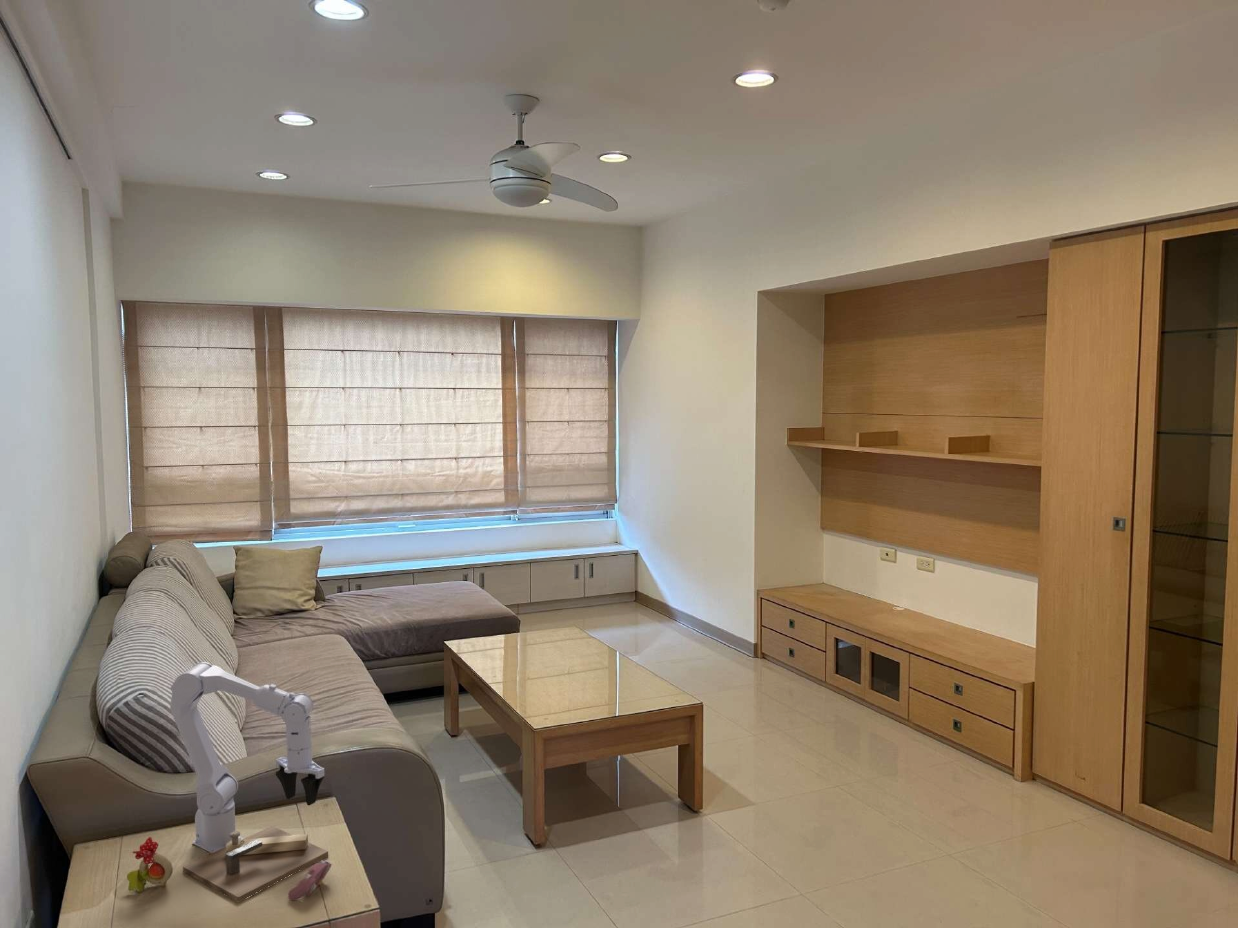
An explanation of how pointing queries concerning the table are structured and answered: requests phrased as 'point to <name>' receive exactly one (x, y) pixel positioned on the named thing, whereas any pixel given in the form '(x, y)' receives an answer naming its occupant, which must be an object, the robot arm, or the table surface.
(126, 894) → the table surface
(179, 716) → the robot arm
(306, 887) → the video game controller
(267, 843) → the wooden link
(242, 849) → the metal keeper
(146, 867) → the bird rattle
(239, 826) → the table surface
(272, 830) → the walnut board
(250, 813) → the table surface
